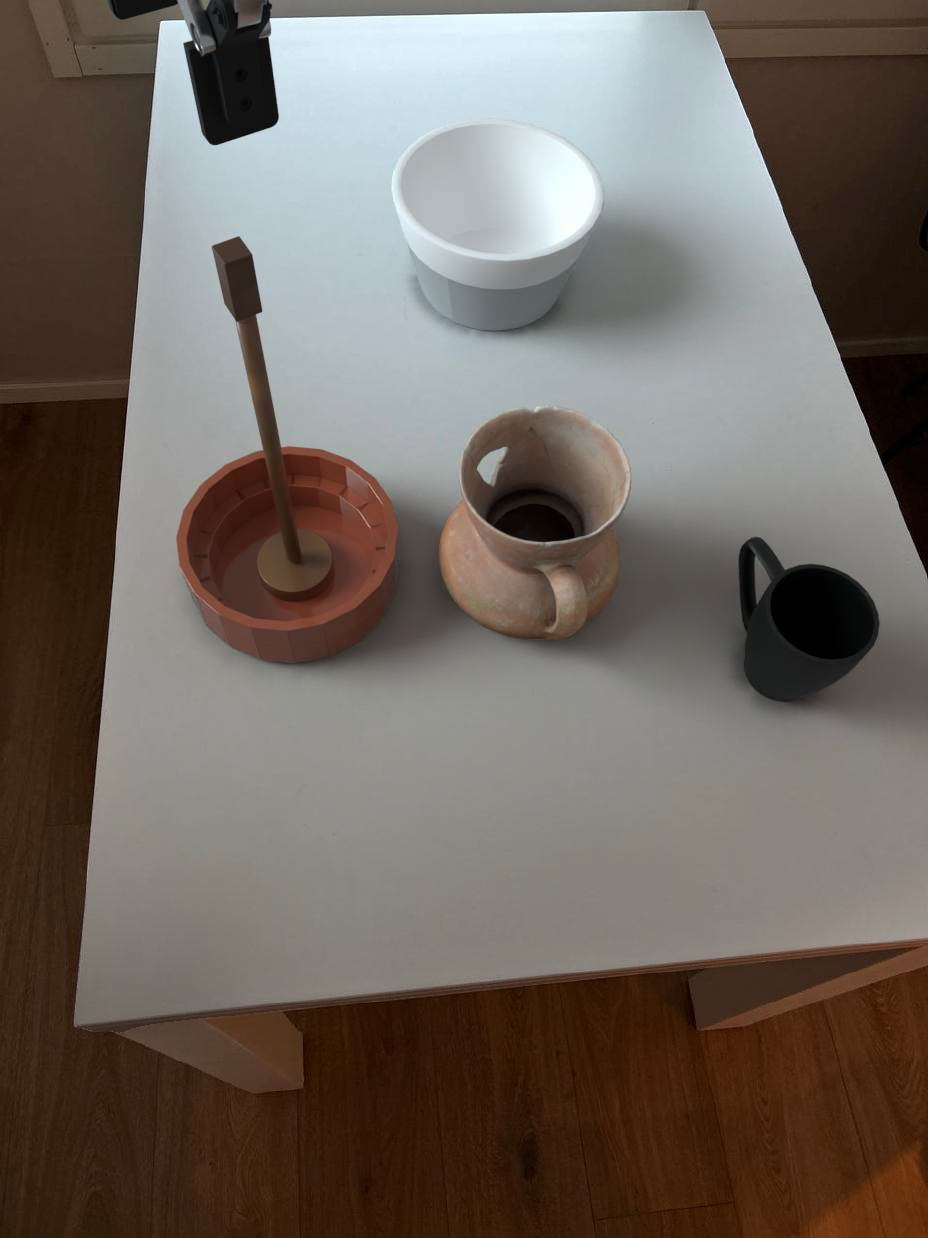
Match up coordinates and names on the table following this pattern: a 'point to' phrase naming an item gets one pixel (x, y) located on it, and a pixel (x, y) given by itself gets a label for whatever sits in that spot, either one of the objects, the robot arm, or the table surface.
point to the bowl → (495, 218)
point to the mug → (801, 625)
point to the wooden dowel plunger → (270, 441)
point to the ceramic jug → (537, 523)
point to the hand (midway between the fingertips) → (192, 67)
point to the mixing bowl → (246, 517)
